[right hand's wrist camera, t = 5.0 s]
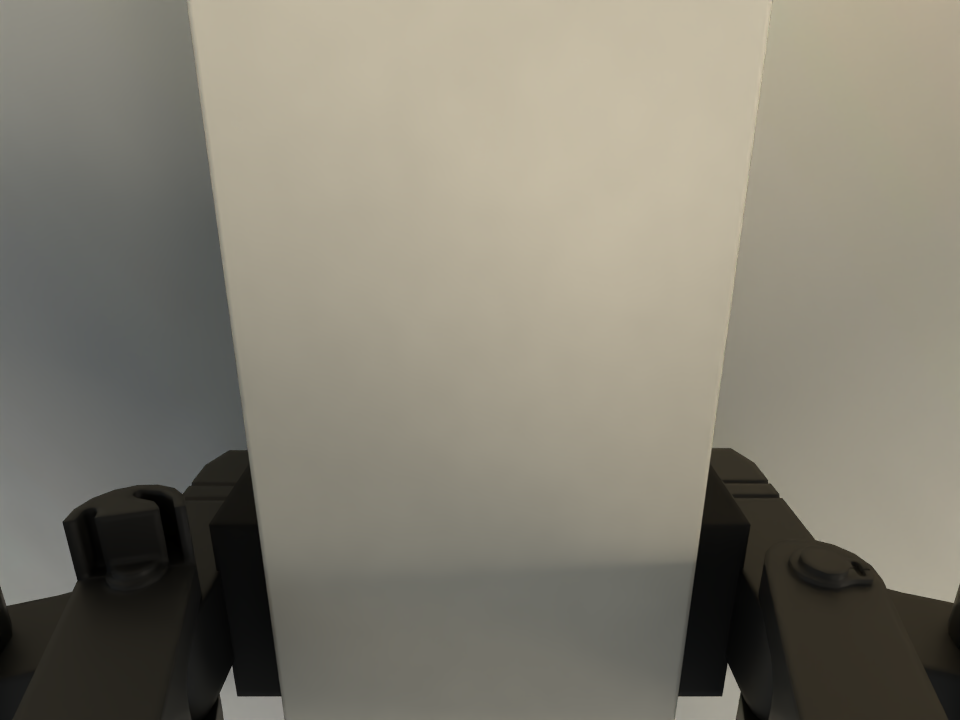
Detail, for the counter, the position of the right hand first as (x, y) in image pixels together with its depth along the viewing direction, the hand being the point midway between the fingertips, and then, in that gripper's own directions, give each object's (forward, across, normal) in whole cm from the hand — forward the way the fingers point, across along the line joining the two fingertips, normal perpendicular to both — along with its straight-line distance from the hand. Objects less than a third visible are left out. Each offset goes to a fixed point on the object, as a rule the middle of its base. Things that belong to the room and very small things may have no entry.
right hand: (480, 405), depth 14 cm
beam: (+1, 0, -18) cm, 18 cm away
